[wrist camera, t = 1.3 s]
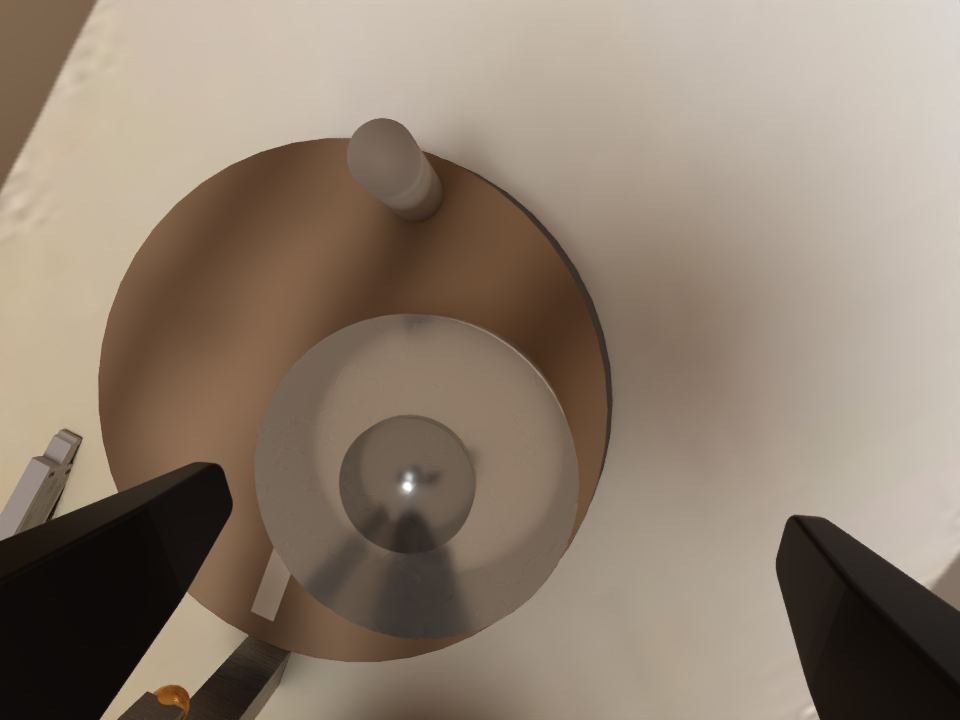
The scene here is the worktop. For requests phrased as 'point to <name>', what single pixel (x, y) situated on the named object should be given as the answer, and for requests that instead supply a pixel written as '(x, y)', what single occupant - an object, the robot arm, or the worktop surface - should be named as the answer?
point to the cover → (417, 475)
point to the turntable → (320, 335)
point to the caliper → (39, 486)
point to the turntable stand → (259, 665)
